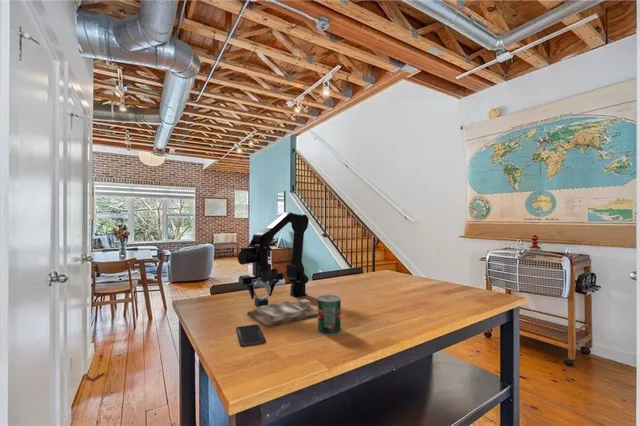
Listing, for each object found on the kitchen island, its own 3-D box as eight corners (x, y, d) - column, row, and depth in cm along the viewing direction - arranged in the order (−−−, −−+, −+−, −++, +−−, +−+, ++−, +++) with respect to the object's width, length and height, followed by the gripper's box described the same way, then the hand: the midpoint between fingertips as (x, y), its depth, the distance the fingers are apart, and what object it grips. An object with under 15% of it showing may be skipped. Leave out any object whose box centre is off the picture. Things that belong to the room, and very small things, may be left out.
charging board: (299, 303, 133) (299, 294, 133) (322, 315, 119) (322, 304, 119) (247, 314, 120) (247, 304, 120) (266, 328, 105) (266, 316, 105)
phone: (240, 344, 90) (235, 327, 104) (240, 348, 90) (235, 330, 104) (266, 340, 93) (258, 324, 107) (266, 344, 93) (258, 327, 107)
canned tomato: (345, 332, 101) (345, 299, 102) (325, 336, 98) (325, 302, 98) (332, 324, 108) (332, 294, 108) (313, 328, 104) (313, 297, 105)
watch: (272, 306, 130) (272, 280, 130) (254, 308, 126) (254, 282, 126) (268, 302, 135) (268, 278, 135) (250, 305, 131) (250, 280, 131)
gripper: (247, 266, 119) (247, 306, 119) (289, 262, 129) (289, 298, 129) (238, 262, 128) (238, 299, 128) (277, 259, 139) (277, 292, 139)
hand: (261, 297), depth 131 cm, fingers closed on watch, 8 cm apart
